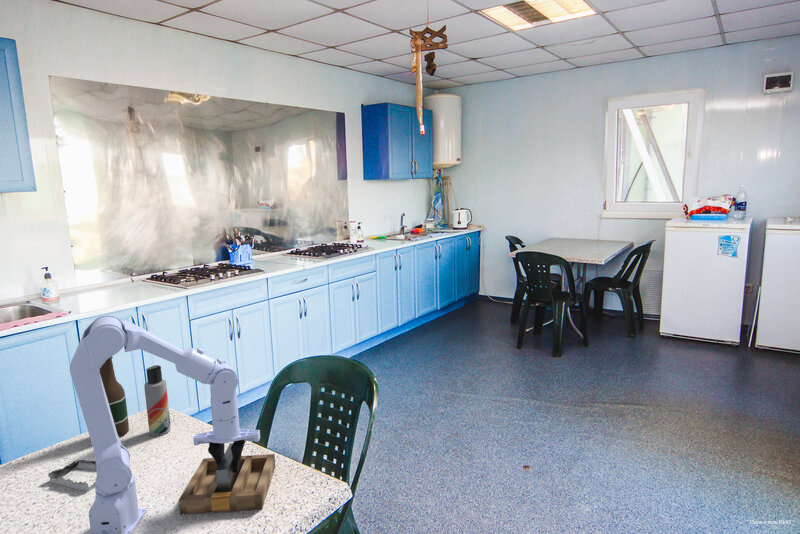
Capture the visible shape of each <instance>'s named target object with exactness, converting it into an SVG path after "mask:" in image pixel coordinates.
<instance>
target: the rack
mask: <svg viewBox="0 0 800 534" xmlns="http://www.w3.org/2000/svg"><path fill="white" fill-rule="evenodd" d="M275 458H276V456H275V453H271V454H270V453H268V454H256V455H255V454H252V455H251V454H250V455H242V468H241V470H240V473H239V475H238V477H237V480H236V482H235V484H234V487H233V489H232V491H231V492H220V493H218V489H217V478H216V469H217V467H218V465H217V463H216V461H215V460H214V458H213V457H207V458H205V457H204V458H202V460H201V461H200V464H198V467H197V469H196V470H195V472H194V474H193V476H192V477H191V479H190V481H189V482H188V484H187V486H186V487H185V489H184V491H183V493H182V494H181V495H180V498H179V499H178V505H179V508H178V509H179V515H180V516H183V514H184V516H185V515H186V514H188V515H199V514H201V515H202V514H212V513H225V512H226V513H228V512H229V513H231V512H241V511H243V512H244V511H253V510H255V511H256V510H263V508H264V504H265V501H266V498H267V495H268V491H269V489H270V486H271V482H272V479H273V476H274V472H275V470H276V459H275Z"/></svg>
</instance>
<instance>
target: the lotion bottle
mask: <svg viewBox="0 0 800 534" xmlns="http://www.w3.org/2000/svg"><path fill="white" fill-rule="evenodd" d="M145 370H146V382H145V383H144V388H143V389H144V395H145V396H144V397H145V405H146V414H147V422H148V433H149V435H150V436H152V437H160V436H164V435H167V434H168V433H169V432H171V430H170V429H171V426H172V425H171V417H170V410H169V409H170V407H169V406H170V405H169V397H168V396H169V395H168V388H167V381H166V380H165V379H163V374H162V366H161V365H157V364H156V365H155V364H154V365H153V366H150V367H148V368H146V369H145ZM163 434H164V435H163ZM159 435H160V436H159Z"/></svg>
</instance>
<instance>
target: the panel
mask: <svg viewBox="0 0 800 534" xmlns="http://www.w3.org/2000/svg"><path fill="white" fill-rule="evenodd" d="M233 443H234V442H229V445H228V446H227V448H226V450H225V451H224V456H223V458H222V460H221V461H220V463H219V465H218V467H217V469H216V478H217V489H218V493H220V492H231V491H232V489H233V487H234V484H235V482H236V480H237V477H238V475H239V473H240V470H241V468H242V456H243V455H242V454H241V458H240V465H239V470H238V472H237V473H234V466H233V456H232V452H231V446H232V444H233Z"/></svg>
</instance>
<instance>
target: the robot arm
mask: <svg viewBox="0 0 800 534" xmlns="http://www.w3.org/2000/svg"><path fill="white" fill-rule="evenodd" d="M76 347H77V348H76V349H75V352H74V354H73V356H72V358H71V361H70V363H69V373H70V376H71V379H72V382H73V383H72V384H73V386H74V389H75V394H76V395H77V399H78V402H79V407H80V409H81V412H82V415H83V419H84V422H85V427H86V428H87V431H88V435H89V438H90V439H89V440H90V442H91V445H92V448H93V453H94V460H95V461H96V466H97V469H96V477H95V482H96V486H95V487H94V488H95V489H94V490H95V496H94V497H95V498H94V501H93V503H92V505H91V507H90V509H89V510H88V519H89V527H90V528H89V529H90V534H132V533H133V532H134V530H135V529H136V528H137V526H138V525H139V523H140V521H141V520H142V519H143V517H144V516H145V514H146V512H147V511H148V508H147V507H144V508H141V507H140V508H139V502H138V494H137V485H136V478H135V475H134V474H133V473H132V470H131V469H132V468H131V462H130V461H131V453H130V451H129V450H128V449H127V448H126V447H125V446H124V445H123V444H122V441H121V437H120V438H119V436H118V434H117V431H116V427H115V424H114V420H113V417H112V414H111V410H110V407H109V403H108V400H107V396H106V393H105V389H104V386H103V383H102V379H101V376H100V372H99V369H100V368H101V366H102V365H103V364H104V363H105V361H106V360H107V359H108V358H110V357H113V356H115V355H116V354H118V353H119V352H120V351H121V350H122V349H124V353H129V352H133V351H137V350H142V351H144V352H147V353H148V354H152V355H153V356H156V357H158V358H161V359H163V360H166V361H168V362H170V363H173V364H174V365H175V369H176V372H178V373H179V374H181V375H183V376H186V377H188V378H191V379H192V380H194V381H196V382H198V383H201V384H203V385H210V387H209V389H210V411H211V420H212V421H211V423H212V430H211V431H207V432H201V433H195V435H194V436H193V437H192V438H193V446H199V445H201V444H202V445H203V444H208V448H207V451H208V453H209V455H210V456H211V458H214V460H215V461H216V463H217V465H219V463H220V461H221V460H222V458H223V456H224V454H225V444H228V443H229V444H230V443H233V444H232V446H231V452H232V456H233V466H234V473H237V472H238V470H239V465H240V458H241V455H242V452H243V450H244V447H245V445H246V442H249V441H250V442H252V441H253V442H257V443H258V442H259V441H260V439H261V430H260V429H249V428H248V429H247V428H241V427H240V418H239V405H238V403H239V402H238V395H237V387H238V384H239V383H240V382H239V381H240V380H239V378H238V375H237V373H236V372H235V370H234V369H233V368H232V366H231V365H230V364H229V363H227V362H226V361H225V360H223V359H220V358H217V359H215V358H213V357H211V356H209V355H207V354H205V351H204V349H202V348H200V347H197V348H193V347H190V348H189V347H188V348H185V349H182V348H179V347H178V346H176V345H174V344H172V343H171V342H168V341H166V340H165V339H163V338H161V337H160V336H157V335H156V334H154V333H152V332H150V331H148V330H146V329H145V328H143V327H141V326H139V325H136V324H134V323H133V322H130V321H127V320H121V319H120V318H119V317H118V316H114V315H111V314H105V315H104V314H103V315H101V316H98V317H97V318H95V319H94V320H93V321H92V322H91V323H90V324H89V325H88V326H87V327H86V328H85V330H84V331H83V333H82V336H81V338H80V340H79V343H78V345H77V346H76Z"/></svg>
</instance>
